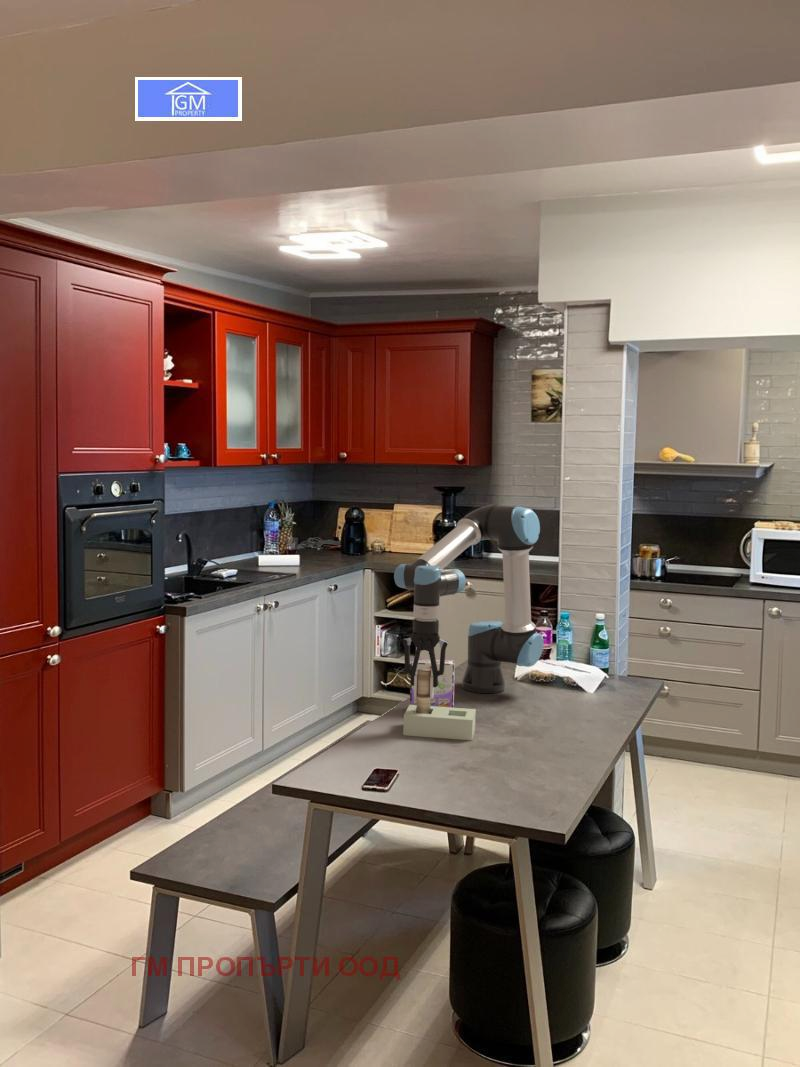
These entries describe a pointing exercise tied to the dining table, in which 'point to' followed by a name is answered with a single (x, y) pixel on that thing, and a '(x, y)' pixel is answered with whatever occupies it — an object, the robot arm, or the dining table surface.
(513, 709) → the dining table surface
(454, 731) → the pale green holed block
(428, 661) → the candy box
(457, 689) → the dining table surface
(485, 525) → the robot arm
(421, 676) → the dowel
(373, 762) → the dining table surface
